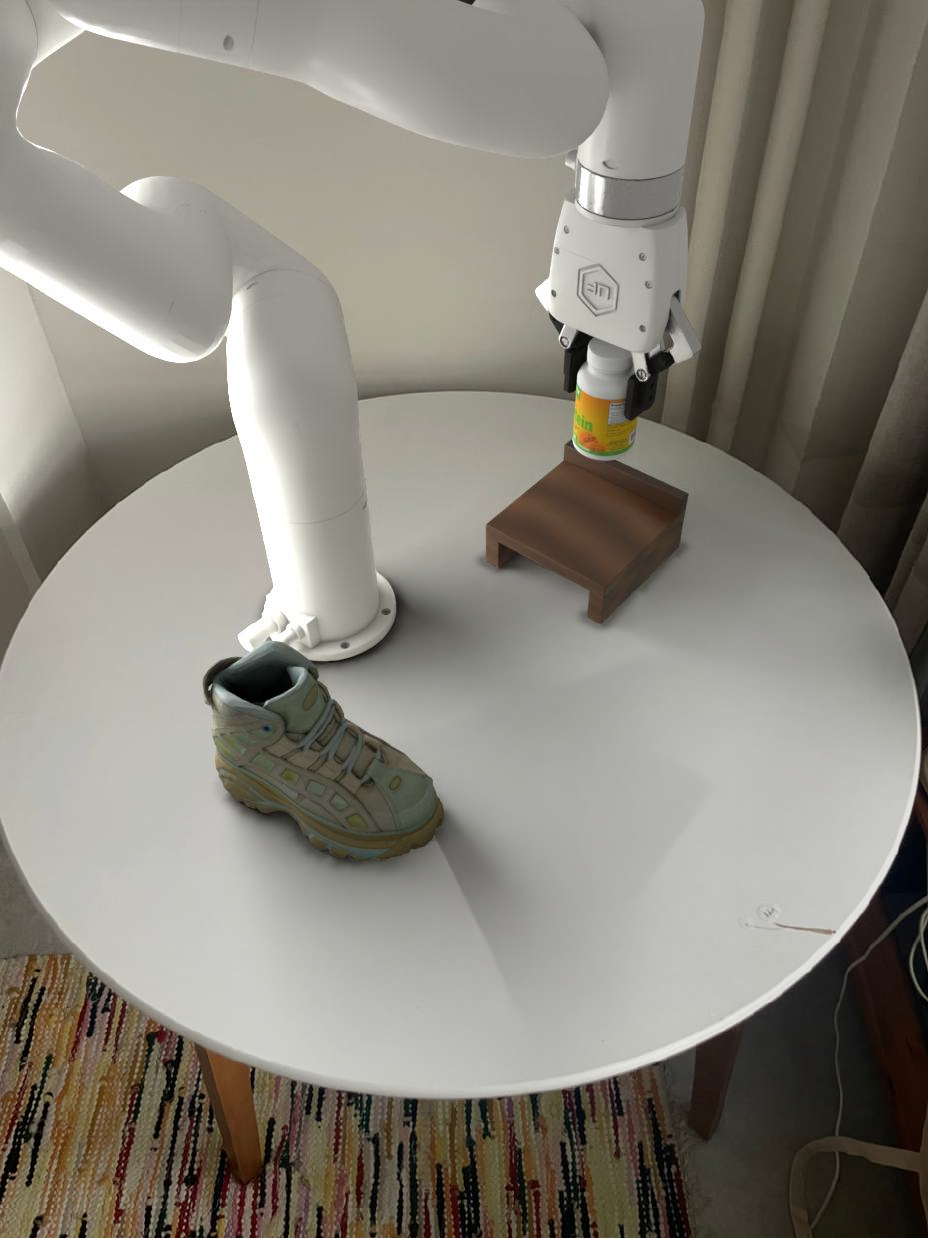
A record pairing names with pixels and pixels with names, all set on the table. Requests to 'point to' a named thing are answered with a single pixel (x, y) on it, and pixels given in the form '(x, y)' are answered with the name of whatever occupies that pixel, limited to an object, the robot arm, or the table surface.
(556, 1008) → the table surface
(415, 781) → the sneaker
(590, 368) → the supplement bottle
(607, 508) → the shelf
